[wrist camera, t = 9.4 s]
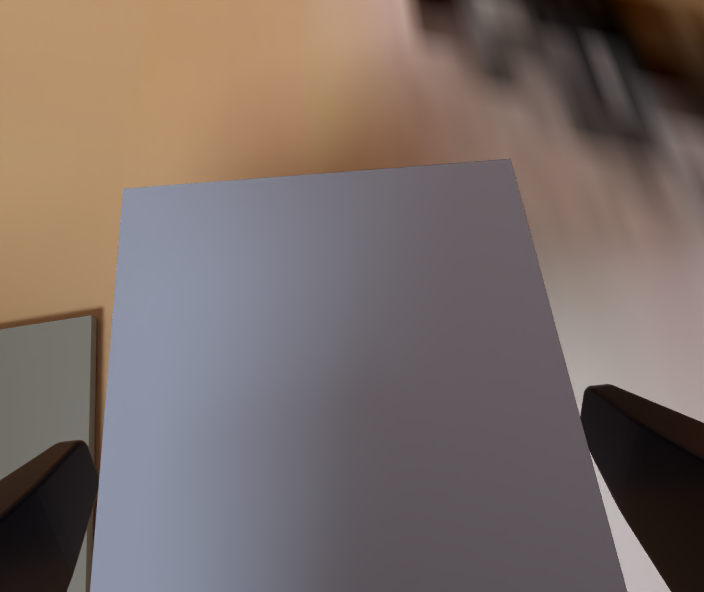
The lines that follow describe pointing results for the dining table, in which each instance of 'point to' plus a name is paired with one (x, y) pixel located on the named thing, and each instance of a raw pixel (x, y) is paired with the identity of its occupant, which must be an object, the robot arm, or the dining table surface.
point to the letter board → (49, 401)
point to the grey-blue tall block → (341, 393)
